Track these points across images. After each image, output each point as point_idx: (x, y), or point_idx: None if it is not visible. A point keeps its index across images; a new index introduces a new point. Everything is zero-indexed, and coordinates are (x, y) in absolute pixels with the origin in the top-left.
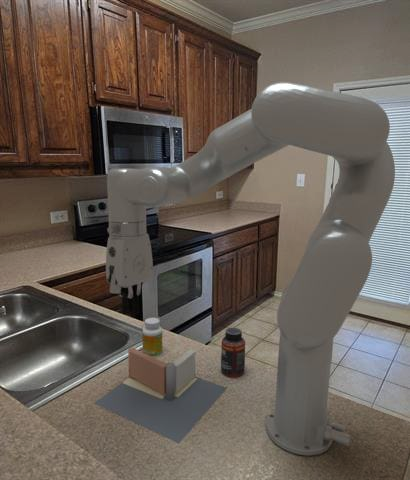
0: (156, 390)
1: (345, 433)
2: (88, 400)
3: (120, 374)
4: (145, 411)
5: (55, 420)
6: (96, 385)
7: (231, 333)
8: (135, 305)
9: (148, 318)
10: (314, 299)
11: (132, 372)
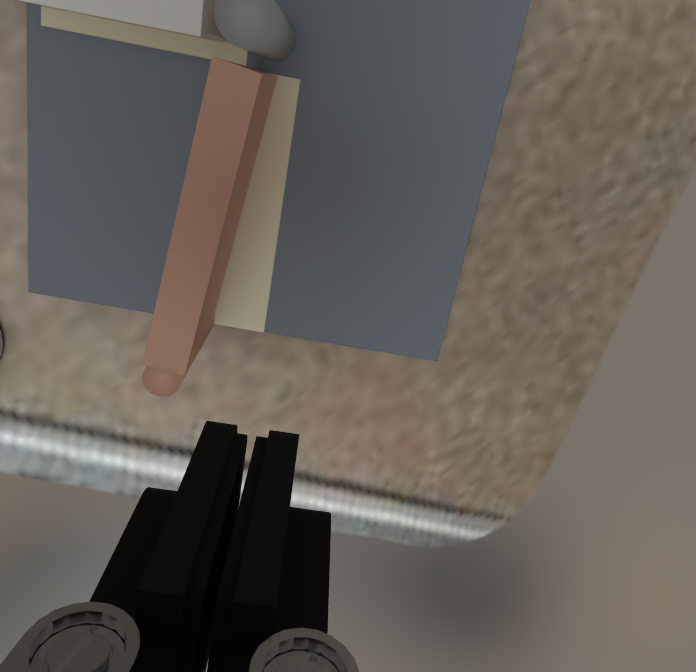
0: None
1: None
2: (417, 392)
3: (198, 377)
4: (414, 113)
5: (558, 427)
6: (316, 422)
7: None
8: (244, 502)
9: None
10: None
11: (212, 312)
